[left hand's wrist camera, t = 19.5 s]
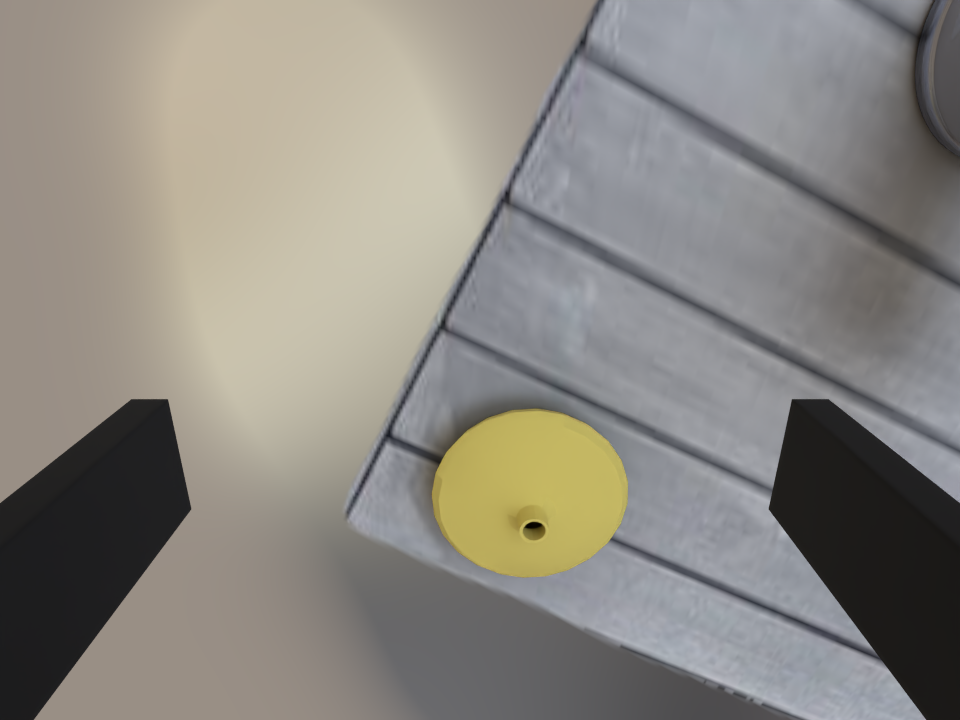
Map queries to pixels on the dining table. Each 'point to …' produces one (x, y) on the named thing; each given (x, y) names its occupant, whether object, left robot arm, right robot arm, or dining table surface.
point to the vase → (530, 493)
